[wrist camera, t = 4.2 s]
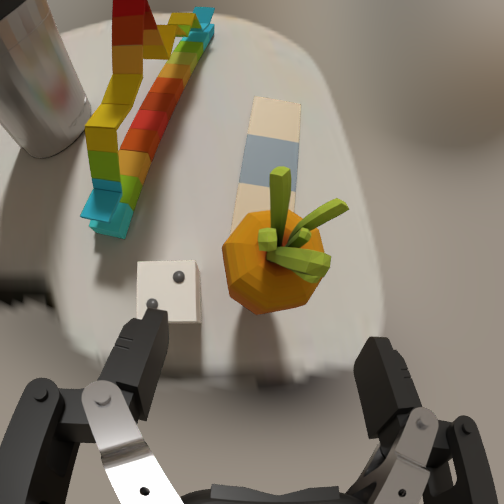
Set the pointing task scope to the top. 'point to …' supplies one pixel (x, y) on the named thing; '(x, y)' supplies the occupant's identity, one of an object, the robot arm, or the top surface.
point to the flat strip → (267, 154)
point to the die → (170, 289)
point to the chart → (150, 113)
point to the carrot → (278, 251)
